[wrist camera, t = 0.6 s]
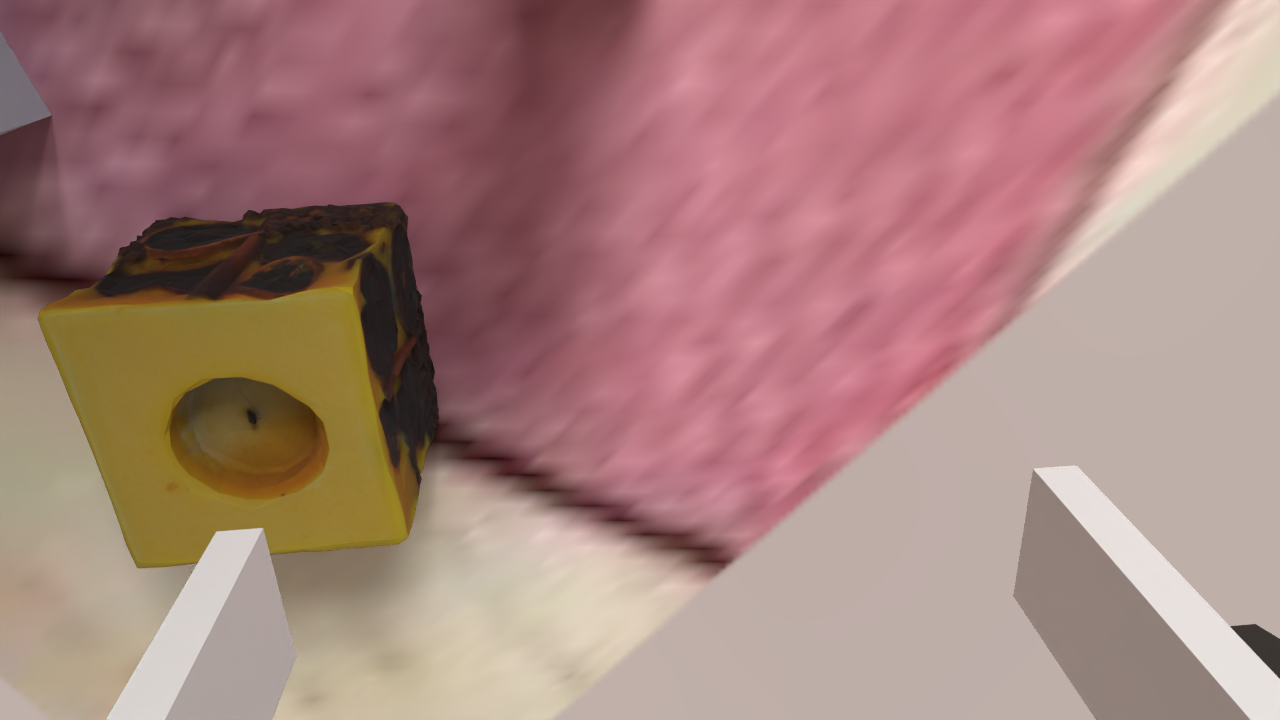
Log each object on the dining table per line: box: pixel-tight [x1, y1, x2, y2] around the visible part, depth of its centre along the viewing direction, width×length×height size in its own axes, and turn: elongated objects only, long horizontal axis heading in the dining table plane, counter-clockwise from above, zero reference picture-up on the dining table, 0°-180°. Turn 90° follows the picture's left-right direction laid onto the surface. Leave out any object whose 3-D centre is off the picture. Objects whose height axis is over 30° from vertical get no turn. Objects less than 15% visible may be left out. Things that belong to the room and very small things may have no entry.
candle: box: [38, 203, 439, 568], centre depth 35 cm, size 10×10×10 cm
